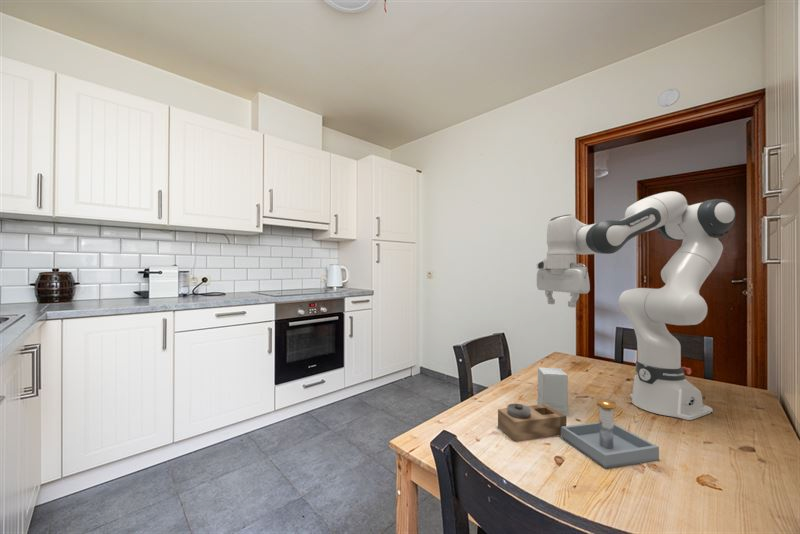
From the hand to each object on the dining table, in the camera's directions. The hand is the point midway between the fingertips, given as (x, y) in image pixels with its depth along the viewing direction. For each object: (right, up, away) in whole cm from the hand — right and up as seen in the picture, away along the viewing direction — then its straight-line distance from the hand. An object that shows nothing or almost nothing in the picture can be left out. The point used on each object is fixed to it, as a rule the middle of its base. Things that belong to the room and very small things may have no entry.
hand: (561, 305), depth 105 cm
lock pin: (-1, -32, -25) cm, 41 cm away
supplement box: (-5, -33, -4) cm, 34 cm away
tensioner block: (-17, -33, -17) cm, 40 cm away
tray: (-1, -33, -25) cm, 41 cm away
